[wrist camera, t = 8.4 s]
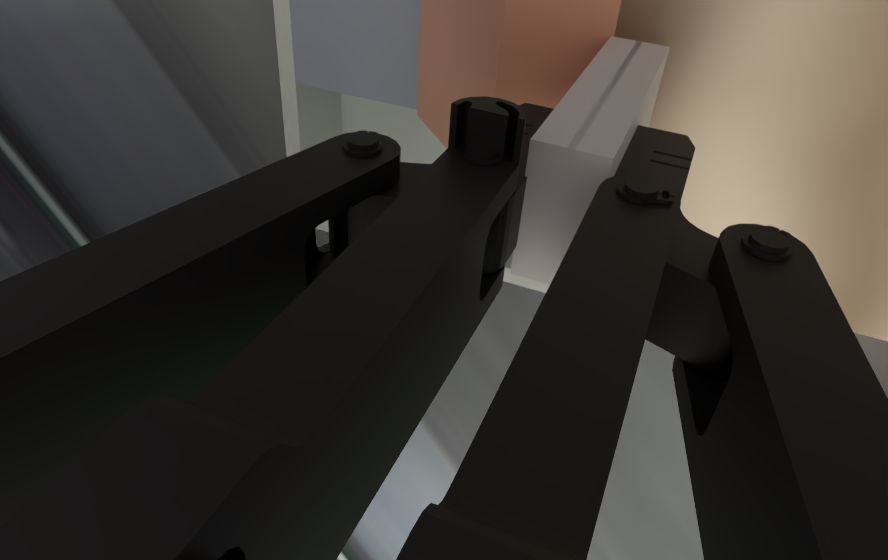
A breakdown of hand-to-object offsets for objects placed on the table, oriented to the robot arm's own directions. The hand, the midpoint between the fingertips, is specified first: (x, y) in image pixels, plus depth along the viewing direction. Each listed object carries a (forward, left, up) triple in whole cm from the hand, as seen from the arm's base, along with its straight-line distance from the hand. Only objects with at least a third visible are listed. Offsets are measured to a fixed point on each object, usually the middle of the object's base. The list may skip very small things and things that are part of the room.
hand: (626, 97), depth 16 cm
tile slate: (-8, 0, -2) cm, 9 cm away
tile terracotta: (-2, 0, -2) cm, 3 cm away
